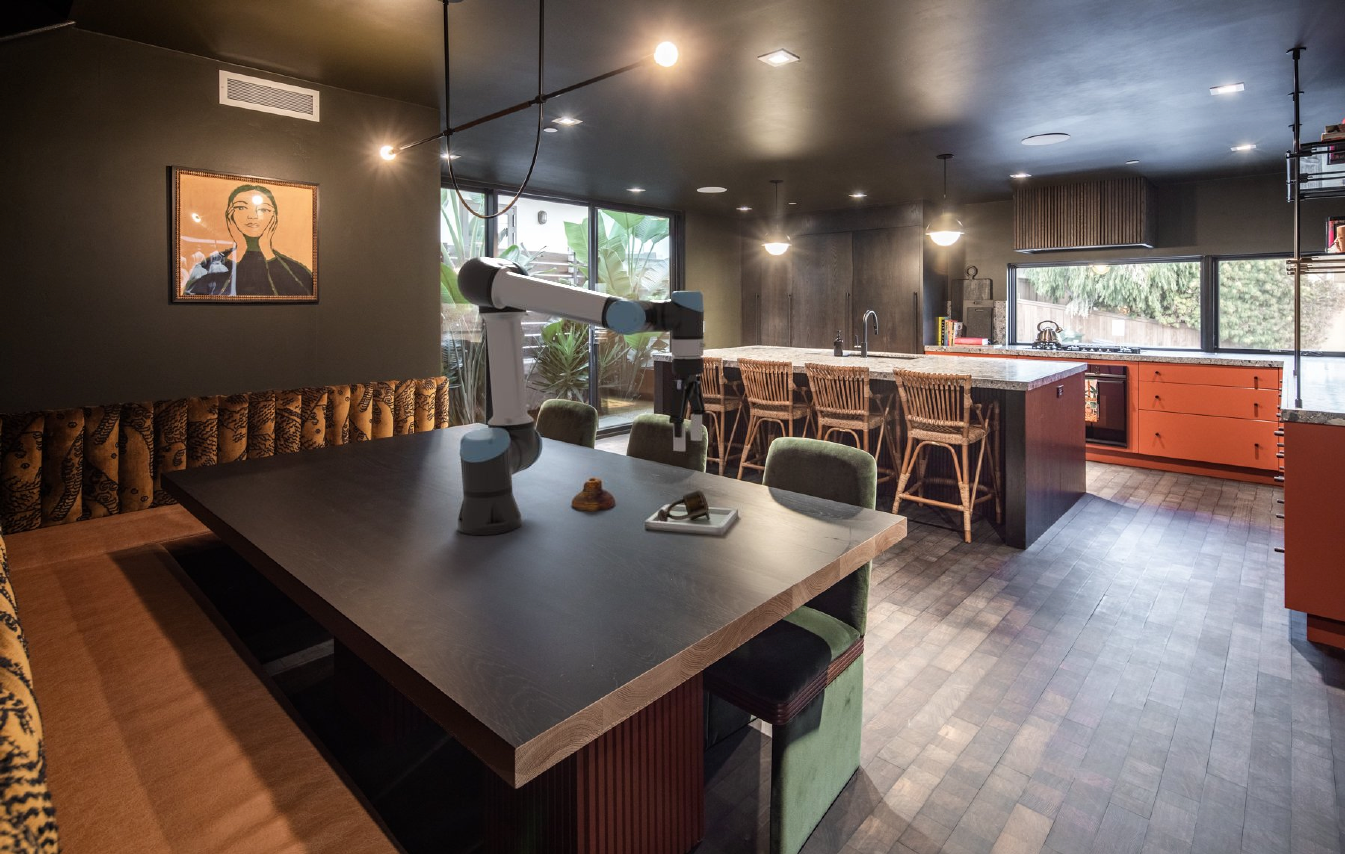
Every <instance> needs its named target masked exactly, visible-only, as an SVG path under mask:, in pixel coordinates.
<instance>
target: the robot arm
mask: <svg viewBox="0 0 1345 854" xmlns="http://www.w3.org/2000/svg"><path fill="white" fill-rule="evenodd" d="M456 281H457V287H458V291H459V293H460V295H461V296H462V297H463V298H464V299H465V300H466V301H467V302H468V303H470V304H472V305H475V306H477V307H478V315H479V316H480V317H481V318H482V319H483V321H485V326H486V327H485V328H486V339H487V350H488V351H487V353H488V361H489V363H488V364H489V377H490V389H491V403H492V413H493V415H492V417H491V418H490V419H489V420H488V421H487V428H486V427H485V428H481V429H476V430H472V431H470V432H467V433H466V434H464V435H463V436H462V437H461V438H460V442H459V457H460V468H461V478H462V479H461V480H462V493H463V494H462V495H463V498H462V502H461V505H460V510H459V514H458V518H457V529H458V532H460V533H462V534H464V535H465V534H466V535H471V536H472V535H473V536H490V535H491V536H492V535H497V534H498V535H499V534H505V533H507V532H510V531H514V530H516V529H518V528H520V526H522V523H523V522H522V513H521V512H520V509H519V506H518V503H517V501H516V498H515V495H514V493H513V477H512V476H513V475H515V474H518V473H520V472H522V471H525V470H528V469H529V468H530V467H532V465H535V463H537V461H538V460H539V458H540V457H541V455H542V451H543V438H542V436H541V434H540V432H539V431H538V430H537V429H536V427H535V421H534V420H535V419H534V418H533V417H532V416H531V415H530V414H529V413H528V404H527V392H526V388H527V387H526V377H525V365H524V363H525V362H524V351H523V350H524V349H523V348H524V347H523V335H522V322H521V321H522V319H523V318H524V316H525V315H526V314H527V311H528V312H532V313H537V314H542V315H545V316H550V317H553V318H558V319H563V320H567V321H571V322H575V323H580V324H584V325H589V326H592V327H597V328H603V329H606V330H610V331H613V332H614V333H616V334H618V335H621V336H622V335H623V336H624V335H625V336H633V335H636V334H641V333H643V334H645V333H661V332H662V333H664V332H665V333H671V356H672V357H673V358H672V359H671V373H672V374H673V375H678V376H679V378H678V379H675V380H673V394H672V400H671V406H670V407H671V408H670V415H669V420H668V422H669V424H672V426H673V427H672V430H673V432H672V433H673V435H672V436H673V437H672V438H673V439H672V441H673V446H672V447H673V452H686V423H685V422H684V421H685V417H686V413H687V409H688V404H689V406H690V407H689V408H690V409H691V410H690V411H691V413H692V414H690V441H696V442H697V441H698V442H702V441H703V415H706V413H707V412H706V407H705V401H704V394H703V389H702V376H701V375H703V374H704V371H705V368H704V366H705V364H704V362H705V361H704V358H702V357H703V356H704V348H705V347H706V346H707V345H706V342H705V343H704V326H705V325H704V324H705V323H704V321H705V320H704V318H705V317H704V316H705V309H704V296H703V294H702V292H701V291H699V290H698V291H697V290H678V291H677V290H676V291H672V293H671V296H670V299H665V300H661V299H631V298H626V297H621V296H617V295H611V294H609V293H608V294H607V293H603V292H598V291H594V290H589V289H584V288H580V287H576V286H570V285H567V284H562V283H558V282H553V281H548V280H544V279H540V278H535V277H531V276H530V275H529V273H528V271H527V270H526V268H524V267H523V266H522V265H521V264H519V263H518V262H516V261H512V260H511V259H507V258H506V259H504V258H493V257H486V256H477V257H473V258H470V259H469V260H467V261H465V262H464V264H462V265H461V267H460V268H459V271H458V273H457V279H456Z"/></svg>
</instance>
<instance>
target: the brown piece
mask: <svg viewBox="0 0 1345 854" xmlns="http://www.w3.org/2000/svg"><path fill="white" fill-rule="evenodd" d="M682 504H683V505H685V506H686V510H687V513H688V514H687V515H683V516H673V515H671V514H670V510H671V509H672V508H673V507H674V506H676V505H682ZM708 507H709V505H708V501H707V499H706V497H705V494H704V492H703V491H702V490H701V489H697V490H695V491H693V492H688V493H686V494H684V495H682V499H679V500H676V501H674V502H673V503H672V504H671V505H670V506H669V507H668V509H667V511H666V512H665V511H664V510H663V509H661V508H659V510H658V511H659V512H658V518H659V520H660V521H663V522H667V521H668V517H670V518H671V519H674V520H683V519H687V518H690V519H691V520H694V519H696V518H699V517H702V516H706V517H707V519H708V520H710V516H709V512H708V510H709V508H708Z"/></svg>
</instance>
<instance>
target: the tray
mask: <svg viewBox="0 0 1345 854" xmlns="http://www.w3.org/2000/svg"><path fill="white" fill-rule="evenodd" d="M670 505H671V504H670V503H666V504H664V505H663V506H662V507H661V508H660V509H663V510H664V511H665V512H666V511H667V509H668V507H669V506H670ZM708 508H709V510H708V512H709V516H710V520H708V519H707V517H706V516H702V517H699V518H696V519H694V520H691V519H690V518H687V519H683V520H674V519H671V518H670V517H668V521H667V522H663V521H660V520H659V518H658V512H659V510H657V511H656V512H655V513H653V514H652V515H651V516H650V517H648V518H647V519H646V520H645V521H644V529H645V530H655V531H665V532H678V533H689V534H700V535H701V534H702V535H713V536H723V535H724V534H725V532H726V531H727V530H728V529H729V528H730V527H731V525H732V524H733V523H734V522H735V520H736V519H737V518H738V517H739V508H726V507H712V506H711V507H710V506H708ZM670 514H671V515H673V516H683V515H687V514H688V513H687V510H686V506H685V504H678V505H676V506H674V507H673V508H672V509H671V510H670Z"/></svg>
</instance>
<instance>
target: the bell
mask: <svg viewBox="0 0 1345 854" xmlns="http://www.w3.org/2000/svg"><path fill="white" fill-rule="evenodd" d="M602 482H603V481H602V480H601V479H600V478H598V477H590V478H589V481H588V480H587V481H585V482H584V484H583V488H582V490H581V491H580V492H578V493H577V494H575V496H574V497H573V498H572V500H571V506H572V507H573V508H574V509H577V510H579V511H588V512H589V511H591V512H592V511H593V512H594V511H601V510H607V509H610V508H612V507H614V506H615V505H616V499H615V497H614V496H613V494H612V493H610V492H609V491H608V490H606V489H603V483H602Z"/></svg>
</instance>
